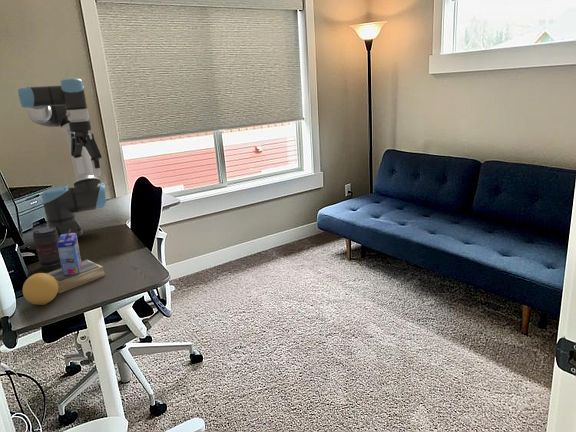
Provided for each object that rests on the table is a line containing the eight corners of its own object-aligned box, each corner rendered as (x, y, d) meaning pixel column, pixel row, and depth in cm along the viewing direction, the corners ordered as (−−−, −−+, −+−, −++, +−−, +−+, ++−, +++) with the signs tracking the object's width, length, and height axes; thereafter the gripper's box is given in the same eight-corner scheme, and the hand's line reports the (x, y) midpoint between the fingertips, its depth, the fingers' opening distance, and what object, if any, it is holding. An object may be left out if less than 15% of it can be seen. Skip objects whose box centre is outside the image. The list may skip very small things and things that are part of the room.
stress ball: (49, 312, 136) (69, 283, 140) (20, 297, 130) (41, 268, 134) (40, 307, 143) (59, 280, 147) (11, 293, 137) (32, 265, 141)
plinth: (44, 284, 154) (42, 273, 153) (88, 268, 165) (86, 258, 164) (59, 293, 146) (57, 282, 145) (104, 275, 158) (102, 265, 157)
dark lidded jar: (48, 272, 164) (39, 234, 160) (36, 268, 169) (27, 231, 164) (68, 264, 171) (60, 227, 167) (56, 260, 175) (48, 225, 171)
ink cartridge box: (80, 273, 151) (72, 233, 147) (63, 276, 149) (54, 236, 145) (83, 263, 160) (75, 225, 156) (66, 266, 158) (57, 228, 154)
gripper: (55, 121, 174) (66, 173, 181) (85, 122, 159) (95, 179, 165) (73, 119, 180) (84, 170, 186) (104, 120, 164) (114, 175, 170)
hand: (89, 175), depth 176 cm, fingers open, 13 cm apart
